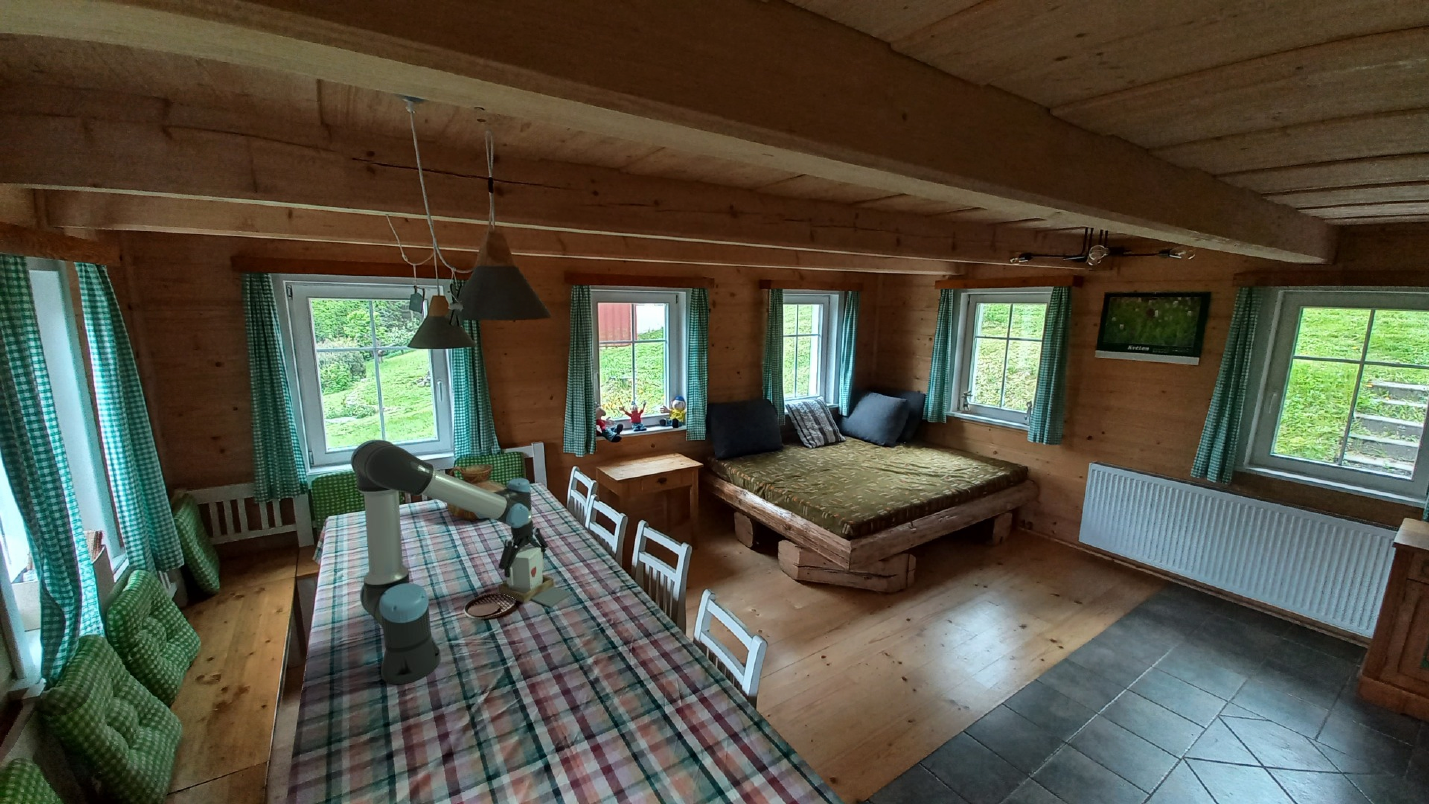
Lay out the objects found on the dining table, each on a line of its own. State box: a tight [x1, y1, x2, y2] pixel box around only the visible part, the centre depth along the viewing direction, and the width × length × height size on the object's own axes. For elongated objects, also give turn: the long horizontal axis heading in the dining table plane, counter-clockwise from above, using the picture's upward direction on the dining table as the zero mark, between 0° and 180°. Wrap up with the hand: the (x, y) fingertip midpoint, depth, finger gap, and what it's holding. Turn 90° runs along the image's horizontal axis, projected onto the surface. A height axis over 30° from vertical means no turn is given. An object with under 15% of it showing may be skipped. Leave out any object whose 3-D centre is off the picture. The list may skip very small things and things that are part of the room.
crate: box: [497, 574, 555, 604], centre depth 198 cm, size 14×14×3 cm
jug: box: [446, 463, 507, 522], centre depth 267 cm, size 30×30×25 cm
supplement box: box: [507, 545, 543, 594], centre depth 197 cm, size 9×9×15 cm
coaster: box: [530, 585, 573, 608], centre depth 193 cm, size 10×10×1 cm
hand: (525, 576), depth 197 cm, fingers open, 13 cm apart
